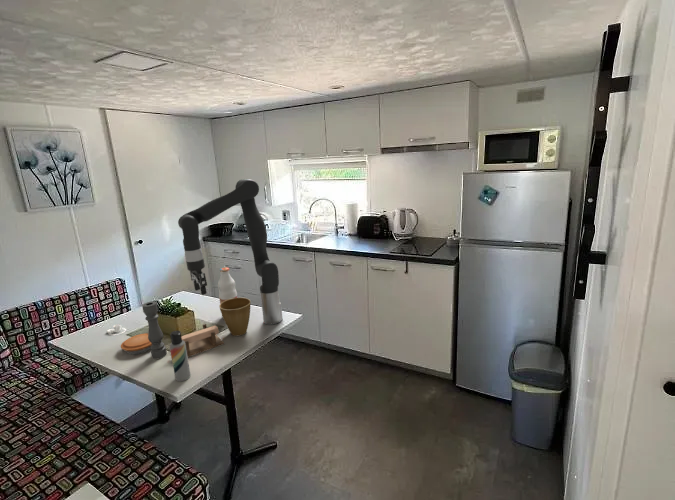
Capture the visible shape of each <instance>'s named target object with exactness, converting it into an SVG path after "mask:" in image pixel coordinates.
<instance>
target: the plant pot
mask: <svg viewBox="0 0 675 500" xmlns="http://www.w3.org/2000/svg"><path fill="white" fill-rule="evenodd" d="M219 311H220V313H221V317H222V316H223V318H222V319H223V321H224V324H225V325H226V327H227V329H228V331H229V332H230V334H231V335H232V336H234V337H238V336H240V337H241V336H243V335H245V334H246V333H247V332H248V328H249V321H250V316H251V299H249V298H247V297H237V298H232V299H228V300H226V301H224V302H222V303H221V304H220V303H219Z"/></svg>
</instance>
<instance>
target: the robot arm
mask: <svg viewBox="0 0 675 500" xmlns="http://www.w3.org/2000/svg"><path fill="white" fill-rule="evenodd" d="M259 192H260V187H259V184H258V183H257V181H255V180H253V179H249V178H242V179H239V180H238V181H237V182H236V184H235V189H233V190H231V191H230V192H228V193H226V194H224V195H221V196H219V197H216V198H214V199H212V200H210V201H208V202H206V203H205V204H203V205H201V206H199V207H198V208H195V209H193V210H191V211H188V212H187V213H184V214H182V215H181V216H180V217H179V218H178V221H177V223H178V225H177V226H178V227H179V228H180V229H181V230H182V236H183V239H182V245H183V250H184V257H185V264H186V269H187V270H188V271H189V274H190V275H189V276H190V280H191V281H192V283H193V287H194V290H195V291H200V294H201V295H203V296H204V295H207V288H206V286H208V282H207V277H206V273H205V272H203V271H202V270H204V268H205V266H206V265H205V264H206V263H205V260H204V259H205V258H204V253H203V251H202V250H203V249H202V247H201V241H200V228H199V225H200V224H202V223H205V222H208V221H211V220H212V219H214V218H215V217H217V216H218V215H221V214H223V213H224V212H225V211H227V210H229V209H230V208H233V207H234V206H237V205H238V204H240V206H241V207H240V208H241V210H242V215H243V219H244V223H245V229H246V232H247V236H248V240H249V243H250V246H251V247H250V248H251V251H252V254H253V260H254V268H255V272H256V274H257V275H258V276H259V277H261V285H260V287H259V295H260V300H261V310H262V319H263V323H264V324H265V325H269V326H270V325H276V324H279V323H281V322H282V321H283V310H282V303H281V302H280V295H279V284H280V277H279V269H278V266H277V264H276V263H275V262H273V261H270V258H269V255H268V251H267V242H268V234H267V233H268V232H267V229H266V224H265V221H264V219H263V217H262V215H261V213H260V212H259V209H258V207H257V204H256V199H255V197H256V196H258V194H259Z"/></svg>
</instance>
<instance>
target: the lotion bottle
mask: <svg viewBox="0 0 675 500" xmlns="http://www.w3.org/2000/svg"><path fill="white" fill-rule="evenodd" d="M169 335H170V341H171V343H170V344H169V351H170V357H171V361H172V366H173V367H172V368H173V372H174V378H175V380H176V381H177V382H185V381H186V380H189V379H190V377H191V375H192V374H191V368H190V362H189V357H188V356H187V350H186V345H185V341H183V340H182V337H181V336H182V333H181V331H180V330H173V331H171V332H170V334H169Z"/></svg>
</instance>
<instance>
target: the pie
mask: <svg viewBox="0 0 675 500" xmlns="http://www.w3.org/2000/svg"><path fill="white" fill-rule="evenodd" d="M151 345H152V344H151V342H150V341H149V339H148V332H147V333H145V332H144V333H140V334H136V335H133V336H131V337H129V338H127V339H125V340H124V341H123V342H122V343H121V344H120V348H121V350H123V351H125V352H126V353H127V354H129V355H139V354H143V353H146V352H148V351H151Z"/></svg>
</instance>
